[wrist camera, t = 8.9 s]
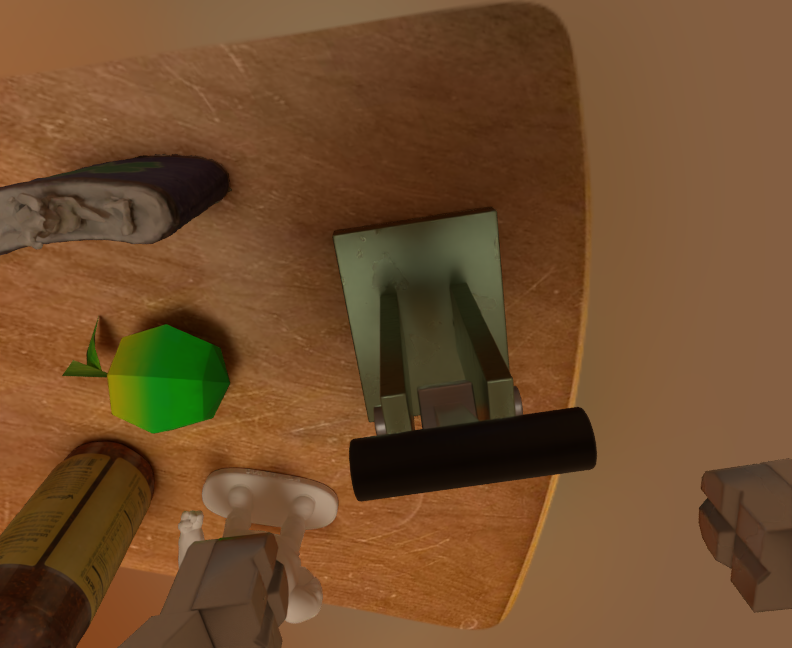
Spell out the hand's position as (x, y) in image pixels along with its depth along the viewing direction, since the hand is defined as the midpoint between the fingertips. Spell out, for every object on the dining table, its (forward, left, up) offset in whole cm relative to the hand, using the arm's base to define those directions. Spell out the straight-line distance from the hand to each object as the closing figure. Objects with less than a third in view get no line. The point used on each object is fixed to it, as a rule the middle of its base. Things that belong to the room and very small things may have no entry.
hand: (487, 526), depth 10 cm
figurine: (+16, -12, -23) cm, 30 cm away
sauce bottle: (+13, -22, -23) cm, 34 cm away
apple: (+5, -16, -23) cm, 28 cm away
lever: (+1, 0, -8) cm, 8 cm away
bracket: (+5, 0, -23) cm, 23 cm away
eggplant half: (-5, -14, -23) cm, 27 cm away
